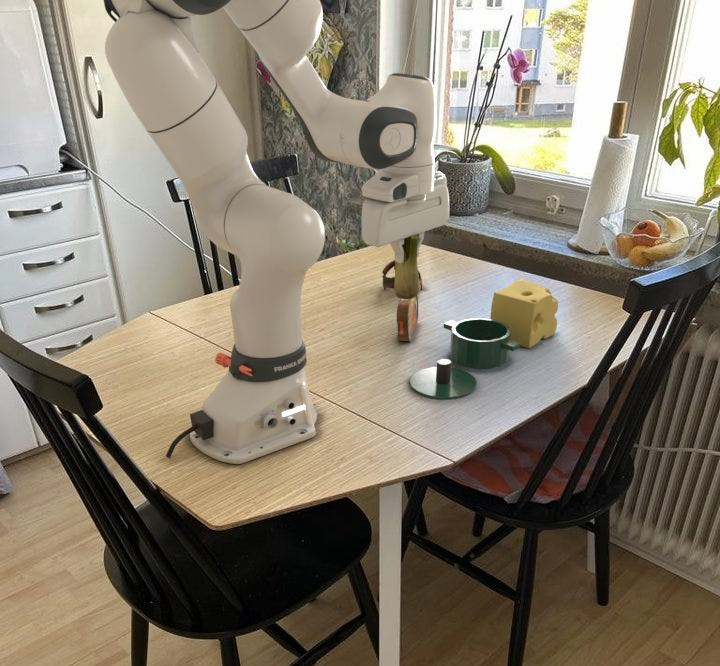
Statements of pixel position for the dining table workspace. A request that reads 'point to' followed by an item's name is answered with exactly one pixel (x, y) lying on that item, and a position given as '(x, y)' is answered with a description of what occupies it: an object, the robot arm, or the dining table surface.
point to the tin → (407, 318)
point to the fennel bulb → (408, 271)
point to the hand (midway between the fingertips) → (406, 259)
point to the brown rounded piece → (389, 281)
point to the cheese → (526, 311)
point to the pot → (480, 343)
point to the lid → (443, 381)
